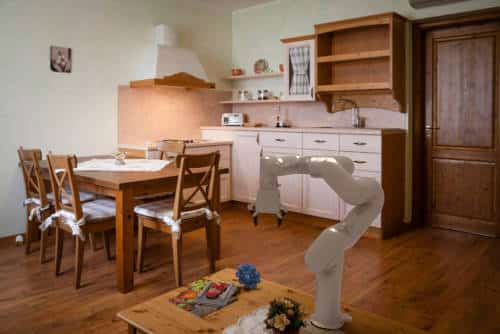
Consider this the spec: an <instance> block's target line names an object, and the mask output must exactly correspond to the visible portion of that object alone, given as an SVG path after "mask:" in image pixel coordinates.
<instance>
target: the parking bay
mask: <svg viewBox="0 0 500 334" xmlns="http://www.w3.org/2000/svg"><path fill="white" fill-rule="evenodd" d="M217 282H219V281H217V280H209V281H208V282H207V283H206V284H207V285H206V284H205V285H206V286H205V285H204V287H203V288H202V289H203V290H202V289H201V290H202V291H201V290H200V291H201V292H198V294H197V295H196V297H194V299H193V300H192V303H200V304H210V305H216V306H219V308H226V307H227V305H228V303H229V302H230V300H231V299H230V297H229V298H226V297H227V296H228V294H229V292H230V290H231V289H232V287H233V286H235V287H237V288H238V285H236V284H235V283H234V282H226V281H224V282H225V283H227V286H229V287H228V288H227V290H226V291H225V293H224V294H223V296H222V297H219V296H218V298H208V297H206V291H207V290H208V288H209V287H210V285H211V284H215V283H217ZM229 299H230V300H229ZM228 301H229V302H228ZM216 306H215V307H216Z"/></svg>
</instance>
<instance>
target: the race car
mask: <svg viewBox="0 0 500 334" xmlns="http://www.w3.org/2000/svg"><path fill="white" fill-rule="evenodd" d="M225 282H226V281H218V282H217V283H215V284H213V285H212V286H211V287H209V288H210V289H209V290H208V291H207V292H206V297H208V298H218V296H219V295H221V294H222V293H223V292H225V291H226V290H227V283H225Z"/></svg>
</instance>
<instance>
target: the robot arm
mask: <svg viewBox="0 0 500 334" xmlns="http://www.w3.org/2000/svg"><path fill="white" fill-rule="evenodd" d="M354 172H355V163H354V161H353V159H351V158H350V157H348V156H345V155H288V156H287V155H286V156H279V157H277V156H275V155H262V156H261V157H259V176H258V177H259V185H258V186H259V187H258V188H257V191H256V196H255V197H256V198H255V201H254V202H251V203H250V204H248V205H247V209H248V212H249V213H250V214H251V215H252V217H253V225H254V226H255V227H257V226H258V224H259V215H258V214H259V213H260V214H261V213H262V214H275V215H277V217H278V218H277V228H279V229H280V227H281V226H282V225H283V217H285V215H287V212H288V211H289V209H290V208H289V206H287V205H285V204H283V203H282V202H281V192H280V191H281V189H280V188H279V187H282V183H279V181H278V180H279V178H278V177H284V176H290V175H308V176H310V178H312V179H322V180H323V181H324V182H325V183H326V184H327V185H328V186H329V187H330V188H331V190H333V191H334V192H335V194H336V195H337V196H338V197H339V198H340V199H341V200H342V201H343V202H344V203H346V204H347V205H349V206H353V207H352V208H351V210H350V211H349V212H348V213H347V215H346V216H345V217H343V219H342V220H341V221H340V222H339V223H338V222H337V223H335V224H333V225H330V226H329V227H327V228H325V229H324V230H323V231H322V232H321V233H320V234H319V236H317V238H316V239H315V240H314V241H313V242H312V243H311V245H310V246H309V247H308V249H307V251H306V252H305V254H304V259H303V260H304V264H305V267H306V268H307V270H308V271H310V272H312V273H315V283H314V284H315V287H314V288H315V289H314V311H313V314H311V315H310V316H309V321H310V320H314V321H317V322H319V323H321V324H323V325H324V326H325V327H327V328H331V329H332V330H337V329H340V328H342V327H343V326H344V322H351V323H352V319H353V317H352V316H350V315H349V314H348V313H343V312H342V311H341V292H342V290H341V288H342V275H343V268H344V263H345V252H346V251H347V250H348V249H350V248H352V247H354V245H355V244H356V243H357V242H358V241H359V239H361V237H362V236H363V235H364V234H365V233H366V232H367V230H368V229H369V227H370V226H371V225H372V224H373V223H374V222H375V221H376V219H377V218H378V216H379V215H380V214H381V211H382V210H383V208H384V207H383V206H384V203H385V192H384V189H383V187H382V185H381V183H380V182H379V181H378V180H377V179H375V178H372V177H362V178H358V179H355V177H353V174H354ZM254 206H255V210H254V209H253V207H254ZM281 209H283V212H281Z"/></svg>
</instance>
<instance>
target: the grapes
mask: <svg viewBox="0 0 500 334" xmlns="http://www.w3.org/2000/svg"><path fill="white" fill-rule="evenodd" d="M236 269H237V271H235V276H236V278H238V279H237V281H238V283H239V285H243V286H244V288H245V289H250V288H252V289H256V288H257V287H258V285H259V284H261V283H262V281H261V278H260V277H261V272H260V271H259V270H257V268H256V266H255V265H254V264H250V265H249V263H248V262H243V263H242V265H240V264H239V265H237V267H236Z"/></svg>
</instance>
